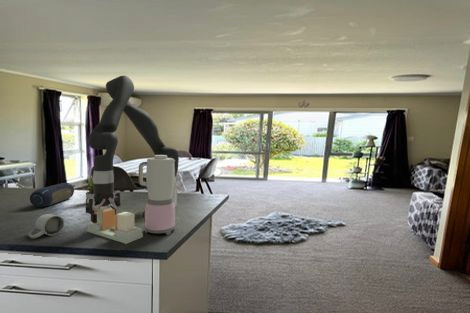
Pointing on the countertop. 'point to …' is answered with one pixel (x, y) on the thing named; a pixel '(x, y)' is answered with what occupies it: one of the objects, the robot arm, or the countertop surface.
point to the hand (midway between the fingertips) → (103, 220)
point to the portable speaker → (51, 194)
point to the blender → (159, 194)
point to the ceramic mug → (47, 225)
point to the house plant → (90, 185)
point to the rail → (113, 236)
